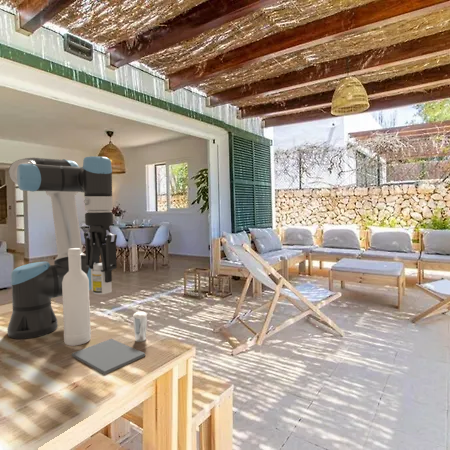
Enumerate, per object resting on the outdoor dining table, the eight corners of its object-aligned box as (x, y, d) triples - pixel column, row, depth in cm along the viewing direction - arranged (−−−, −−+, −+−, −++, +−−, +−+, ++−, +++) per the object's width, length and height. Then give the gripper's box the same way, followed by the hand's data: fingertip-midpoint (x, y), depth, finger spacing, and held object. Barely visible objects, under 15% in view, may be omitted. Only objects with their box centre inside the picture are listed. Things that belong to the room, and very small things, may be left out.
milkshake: (146, 343, 104) (145, 312, 104) (130, 342, 105) (129, 311, 105) (152, 337, 109) (151, 307, 108) (137, 336, 110) (136, 307, 109)
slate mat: (71, 356, 96) (71, 353, 96) (111, 341, 106) (111, 338, 106) (104, 374, 85) (104, 371, 85) (145, 355, 96) (145, 353, 96)
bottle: (63, 348, 101) (59, 251, 99) (64, 338, 108) (60, 248, 106) (91, 343, 105) (88, 249, 103) (90, 334, 112) (87, 246, 110)
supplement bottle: (104, 289, 100) (104, 261, 99) (113, 292, 97) (112, 263, 96) (89, 292, 96) (88, 264, 95) (98, 295, 93) (97, 266, 92)
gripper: (70, 211, 97) (73, 289, 99) (104, 212, 86) (107, 300, 88) (94, 210, 103) (96, 284, 105) (128, 211, 92) (131, 293, 94)
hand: (101, 291), depth 96 cm, fingers closed on supplement bottle, 5 cm apart
